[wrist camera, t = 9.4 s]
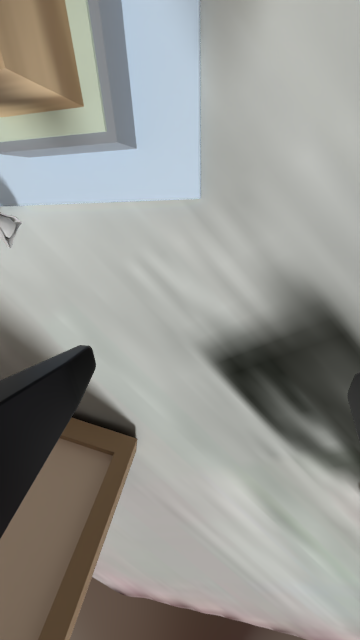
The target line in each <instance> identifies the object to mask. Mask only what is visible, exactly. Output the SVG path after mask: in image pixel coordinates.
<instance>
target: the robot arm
mask: <svg viewBox="0 0 360 640" xmlns="http://www.w3.org/2000/svg"><path fill="white" fill-rule="evenodd" d="M95 367H96V363H95V358H94V354H93V350H92V348H91V347H90V346H85V345H79V346H77V347H75V348H72V349H70V350H68V351H66V352H63V353H61V354H59V355H57V356H55V357H52V358H50V359H48V360H46V361H43V362H41V363H39V364H37V365H34V366H32V367H30V368H28V369H25V370H23V371H21V372H19V373H17V374H14V375H12V376H10V377H8V378H5V379H3V380H1V381H0V539H1V537H2V535H3V534H4V532H5V530H6V529H7V527H8V525H9V523H10V522H11V520H12V518H13V517H14V515H15V513H16V511H17V510H18V508H19V506H20V505H21V503H22V501H23V499H24V498H25V496H26V494H27V493H28V491H29V489H30V488H31V486H32V484H33V482H34V481H35V479H36V477H37V476H38V474H39V472H40V470H41V469H42V467H43V465H44V464H45V462H46V460H47V458H48V457H49V455H50V453H51V452H52V450H53V448H54V446H55V445H56V443H57V441H58V440H59V438H60V436H61V435H62V433H63V431H64V429H65V428H66V426H67V424H68V423H69V421H70V419H71V417H72V416H73V414H74V412H75V411H76V409H77V407H78V405H79V403H80V401H81V399H82V397H83V395H84V393H85V390H86V388H87V386H88V384H89V382H90V379H91V377H92V375H93V373H94V371H95ZM348 401H349V405H350V409H351V412H352V416H353V420H354V424H355V427H356V431H357V435H358V438H359V442H360V373H357V374H356V375H355V376H354V378H353V381H352V383H351V386H350V388H349V391H348Z"/></svg>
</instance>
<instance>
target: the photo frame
mask: <svg viewBox="0 0 360 640" xmlns="http://www.w3.org/2000/svg"><path fill="white" fill-rule="evenodd" d="M136 446H137V439H136V438H133V437H130V436H127V435H124V434H121V433H118V432H115V431H112V430H109V429H105V428H102V427H99V426H96V425H93V424H90V423H87V422H84V421H81V420H78V419H75V418H71V419H70V421H69V423H68V424H67V426H66V428H65V429H64V431H63V433H62V435H61V436H60V438H59V440H58V441H57V443H56V445H55V446H54V448H53V450H52V452H51V453H50V455H49V457H48V458H47V460H46V462H45V464H44V465H43V467H42V469H41V470H40V472H39V474H38V476H37V477H36V479H35V481H34V482H33V484H32V486H31V488H30V489H29V491H28V493H27V494H26V496H25V498H24V499H23V501H22V503H21V505H20V506H19V508H18V510H17V511H16V513H15V515H14V517H13V518H12V520H11V522H10V523H9V525H8V527H7V529H6V530H5V532H4V534H3V535H2V537H1V539H0V640H70V637H71V634H72V632H73V629H74V626H75V623H76V620H77V617H78V615H79V612H80V609H81V606H82V603H83V600H84V597H85V595H86V592H87V589H88V586H89V583H90V580H91V578H92V575H93V572H94V569H95V566H96V563H97V561H98V558H99V555H100V552H101V549H102V546H103V543H104V541H105V538H106V535H107V532H108V529H109V526H110V524H111V521H112V518H113V515H114V512H115V509H116V506H117V504H118V501H119V498H120V495H121V492H122V489H123V487H124V484H125V481H126V478H127V475H128V472H129V470H130V467H131V464H132V461H133V458H134V455H135V452H136Z"/></svg>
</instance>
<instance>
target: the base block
mask: <svg viewBox="0 0 360 640" xmlns="http://www.w3.org/2000/svg"><path fill="white" fill-rule="evenodd" d="M65 3H66V9H67V15H68V20H69V26H70V31H71V37H72V42H73V48H74V53H75V59H76V65H77V70H78V76H79V81H80V87H81V92H82V98H83V103H84V107H79V108H71V109H63V110H55V111H48V112H40V113H32V114H24V115H17V116H9V117H0V154H2V155H11V156H19V157H28V158H30V157H42V156H54V155H67V154H79V153H91V152H103V151H116V150H128V149H137V145H136V136H135V126H134V116H133V107H132V97H131V88H130V78H129V69H128V59H127V50H126V40H125V31H124V21H123V11H122V2H121V0H65Z"/></svg>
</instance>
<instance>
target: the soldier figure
mask: <svg viewBox="0 0 360 640" xmlns="http://www.w3.org/2000/svg"><path fill="white" fill-rule="evenodd" d="M21 223H22V222H21V221H19V220H18V218H16V217H15V216H8V215H4V214H2V213H1V212H0V238H1V239H2V240H3V241H4V242H5V243H6V245H7V246H8V247H9V248H11V247H12V244H13V239H14V237H15V234H16V232H17V229H18V227H19V226H20V224H21Z"/></svg>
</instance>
